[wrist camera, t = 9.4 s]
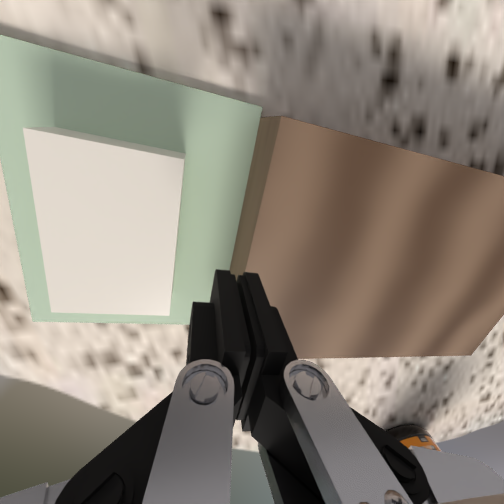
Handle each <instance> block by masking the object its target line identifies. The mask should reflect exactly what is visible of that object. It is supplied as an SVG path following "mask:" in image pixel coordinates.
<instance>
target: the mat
mask: <svg viewBox="0 0 504 504" xmlns="http://www.w3.org/2000/svg"><path fill="white" fill-rule="evenodd" d="M261 112H262V107H261V106H257V105H253V104H250V103H246V102H243V101H239V100H235V99H232V98H228V97H224V96H221V95H217V94H214V93H210V92H206V91H203V90H199V89H195V88H192V87H188V86H185V85H181V84H177V83H174V82H170V81H166V80H163V79H159V78H156V77H152V76H148V75H145V74H141V73H137V72H134V71H130V70H127V69H123V68H119V67H116V66H112V65H108V64H105V63H101V62H98V61H94V60H90V59H87V58H83V57H79V56H76V55H72V54H69V53H65V52H61V51H58V50H54V49H50V48H47V47H43V46H40V45H36V44H32V43H29V42H25V41H21V40H18V39H14V38H11V37H7V36H3V35H0V159H1V164H2V169H3V174H4V179H5V184H6V189H7V194H8V199H9V205H10V210H11V215H12V220H13V225H14V230H15V235H16V240H17V245H18V250H19V255H20V260H21V265H22V270H23V275H24V280H25V285H26V290H27V295H28V300H29V305H30V311H31V316H32V321H33V322H84V323H135V324H187V325H189V324H190V316H191V309H192V303H193V301H194V302H210V297H211V291H212V286H213V280H214V274H215V270H216V269H220V270H230V265H231V260H232V255H233V250H234V245H235V240H236V235H237V231H238V226H239V221H240V216H241V211H242V206H243V201H244V196H245V191H246V186H247V181H248V176H249V171H250V166H251V162H252V157H253V152H254V147H255V142H256V137H257V132H258V127H259V122H260V117H261ZM27 127H58V128H63V129H68V130H73V131H78V132H83V133H88V134H93V135H98V136H103V137H107V138H112V139H117V140H122V141H127V142H132V143H137V144H142V145H147V146H152V147H157V148H161V149H166V150H171V151H176V152H181V153H186V158H185V168H184V178H183V189H182V199H181V209H180V219H179V230H178V240H177V250H176V261H175V271H174V281H173V291H172V299H171V307H170V315H169V316H159V315H124V314H89V313H54V312H51V308H50V301H49V295H48V288H47V282H46V275H45V269H44V262H43V256H42V249H41V243H40V237H39V230H38V224H37V217H36V211H35V204H34V198H33V191H32V185H31V178H30V172H29V165H28V159H27V152H26V146H25V139H24V133H23V128H27Z"/></svg>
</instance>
